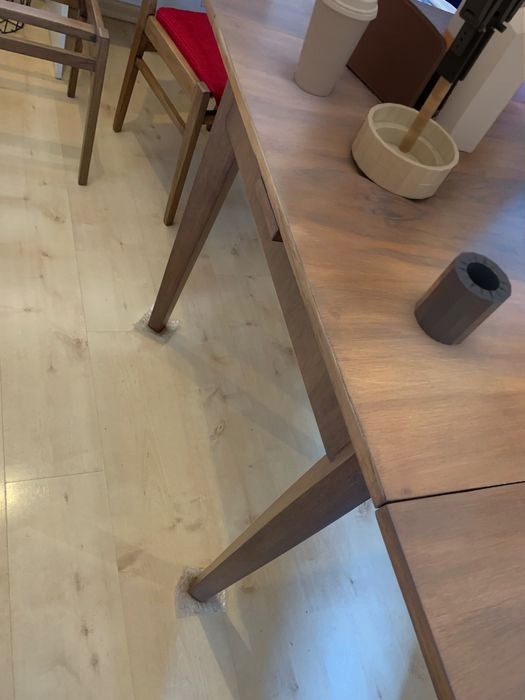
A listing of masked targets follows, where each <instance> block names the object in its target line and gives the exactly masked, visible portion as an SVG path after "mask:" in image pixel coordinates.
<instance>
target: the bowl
mask: <svg viewBox="0 0 525 700" xmlns="http://www.w3.org/2000/svg"><path fill="white" fill-rule="evenodd" d="M418 113H419V111H417V110H415V109H413V108H410V107H407V106H404V105H400V104H393V103H379V104H375V105H374V106H372V107H371V108H370V109H369V111H368V113H367V114H366V116H365V119H364V120H363V123H362V124H361V126H360V128H359V130H358V131H357V134H356V136H355V138H354V139H353V142H352V144H351V152H352V153H351V154H352V157H353V159H354V160H355V163H356V164H357V167H358V168H359V169H360V170H361V172H363V174H364V175H365V176H366V177H367V178H368V179H369V180H371V181H372V182H373V183H375V184H377V185H378V186H379V187H380V188H382V189H384V190H386V191H388V192H390V193H392V194H394V195H397V196H401V197H404V198H407V199H415V200H417V199H418V200H419V199H420V200H423V199H426V198H427V199H428V198H430V197H433V196H434V195H435V194H436V193H437V192H438V191H439V190H440V188H441V187H442V185H443V184H444V183H445V181H446V180H447V179H448V177H449V175H450V174H451V173H452V172H453V170H454V169H455V167H456V166H457V165H458V163H459V159H460V152H459V151H460V150H458V148H457V145H456V143H455V142H454V140H453V139H452V137H451V136H450V135H449V133H447V132H446V131H445V130H444V129H443V128H442V127H441V126H440V125H439V124H438V123H437V122H435V119H432V118H431V119H430V120H429V122H428V123H427V125H426V127H425V128H424V130H423V131H422V133H421V135H420V136H419V138H418V139H417V141H416V143H415V144H414V146H413V147H412V149H411V150H410V152H409V153H408V154H406V153H403V152H401V151H400V150H399V148H398V146H399V145H400V143H401V141H402V140H403V138H404V136H405V135H406V133H407V131H408V130H409V128H410V126H411V125H412V123H413V122H414V120H415V118H416V117H417V115H418Z"/></svg>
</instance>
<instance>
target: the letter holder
mask: <svg viewBox="0 0 525 700" xmlns="http://www.w3.org/2000/svg"><path fill="white" fill-rule="evenodd" d="M377 5H378V11H377V16H376V18H375V19H373V20H371V21H370V22H369V24H368V26H367V28H366V29H365V31H364V33H363V35H362V37H361V38H360V40H359V42H358V44H357V46H356V47H355V49H354V51H353V53H352V55H351V56H350V58H349V60H348V62H347V64H346V65H345V66H347V67H348V68H349V69H350V70H351V71H352V72H353V73H354V74H355V76H357V77H358V78H359V80H361V81H362V82H363V84H364V85H365V86H367V88H368V89H369V90H370V91H371V92H372V93H373V94H374V95H375V96H376V97H377V98H378V99H379V100H380V101H381V103H382V104H384V103H393V104H400V105H404V106H407V107H410V108H413V109H415V110H417V111H419V112H420V110H421V108H422V107H423V105H424V103H425V102H426V100H427V98H428V97H429V95H430V93H431V92H432V90H433V89H434V87H435V85H436V84H437V82H438V80H439V79H440V77H441V75H440V74H439V73H437V72H436V69H437V68H438V66H439V64H440V63H441V61H442V59H443V58H444V56H445V54H446V52H447V42H446V40H445V39H444V37H443V36H442V35H443V34H442V33H441V32H440V30H439V29H438V28H437V27H436V26H435V24H434V23H433V22H432V21H431V20H430V19H429V18H428V16H427V15H425V13H424V12H422V10H421V9H420V8H419V7H418V6H417V5H416V4H415V3H414V2H413V1H412V0H378V1H377ZM459 82H460V80H458V79H457V78H456V80H455V82H454V83H453V84H452V85H451V87H450V89H449V90H448V92H447V93H446V95H445V97H444V98H443V100H442V101H441V103H440V104H439V106H438V108H437V109H436V111H435V112H434V114H433V116H432V117H437V116H438V115H439V113H440V112H441V110H442V108H443V107H444V105H445V104H446V102H447V101H448V99H449V97H450V96H451V94H452V93H453V91H454V89H455V88H456V86H457V85H458V83H459Z"/></svg>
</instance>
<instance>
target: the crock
mask: <svg viewBox="0 0 525 700" xmlns="http://www.w3.org/2000/svg"><path fill="white" fill-rule="evenodd" d="M511 296H512V284H511V281H510V280H509V277H508V274H507V273H505V271H504V270H503V269H502V267H500V266H499V264H498V263H496V262H495V261H493V260H492V259H490V258H489V257H487V256H486V255H484V254H480V253H477V252H474V251H465V252H464V251H463V252H461V253H459V254H458V255H456V256H455V258H454V259H452V261H451V262H450V263H449V264H448V266H447V267H446V268H445V269H444V270H443V271H442V273H440V275H439V276H438V277H437V278H436V279H435V281H434V282H433V283H432V284H431V286H430V287H429V288H428V289H427V290H426V291H425V292H424V293H423V295H421V296H420V298H419V299H418V301H416V303H415V307H414V316H415V320H416V321H417V324H418V325H419V327H420V329H422V331H423V332H424V333H425V334H426V335H427V336H428V337H430V338H431V339H433V340H434V341H436V342H438V343H441V344H444V345H447V346H448V345H449V346H455V345H460V344H462V343H463V342H464V341H465V340H466V339H467V338H468V337H469V336H470V335H471V334H472V333H474V332H475V330H477V328H479V326H481V325H482V324H483V323H484V322H485V321H486V320H487V319H488V318H489V317H490V316H492V314H493V313H494V312H495V311H497V310H498V309H499V308H500V307H501V306H502V305H503V304H504V303H505V302H506V301H507V300H508V299H509V298H510V297H511Z"/></svg>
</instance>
